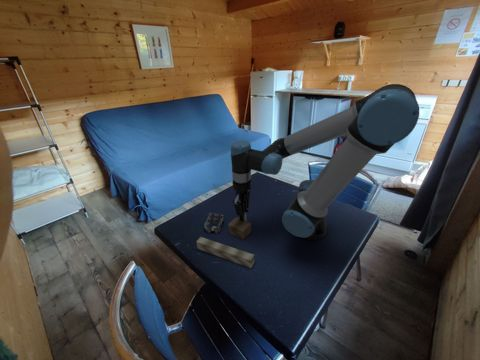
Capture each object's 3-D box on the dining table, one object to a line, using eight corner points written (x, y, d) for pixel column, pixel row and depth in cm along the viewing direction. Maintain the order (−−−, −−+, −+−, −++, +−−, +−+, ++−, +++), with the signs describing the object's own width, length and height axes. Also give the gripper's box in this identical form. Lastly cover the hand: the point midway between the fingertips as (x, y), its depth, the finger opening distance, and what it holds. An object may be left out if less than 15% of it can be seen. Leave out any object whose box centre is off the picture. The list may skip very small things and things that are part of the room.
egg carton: (219, 234, 100) (219, 227, 98) (203, 232, 101) (202, 225, 99) (225, 219, 109) (224, 212, 107) (210, 217, 111) (209, 211, 108)
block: (251, 232, 100) (251, 223, 98) (243, 240, 96) (243, 231, 94) (236, 225, 105) (236, 217, 102) (228, 233, 100) (228, 224, 98)
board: (254, 262, 86) (254, 254, 84) (251, 268, 83) (251, 260, 82) (201, 243, 95) (200, 236, 93) (197, 248, 93) (196, 241, 91)
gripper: (240, 170, 98) (242, 213, 109) (225, 184, 88) (229, 230, 99) (256, 173, 95) (256, 217, 106) (243, 188, 85) (244, 235, 96)
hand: (243, 224), depth 103 cm, fingers closed
